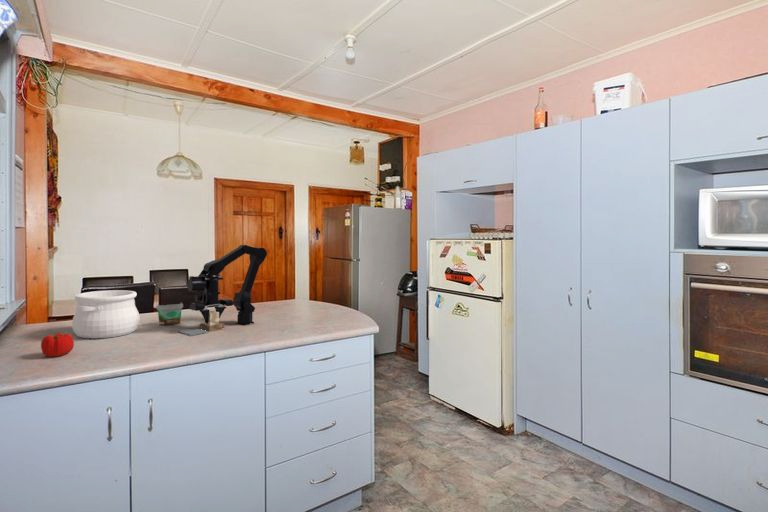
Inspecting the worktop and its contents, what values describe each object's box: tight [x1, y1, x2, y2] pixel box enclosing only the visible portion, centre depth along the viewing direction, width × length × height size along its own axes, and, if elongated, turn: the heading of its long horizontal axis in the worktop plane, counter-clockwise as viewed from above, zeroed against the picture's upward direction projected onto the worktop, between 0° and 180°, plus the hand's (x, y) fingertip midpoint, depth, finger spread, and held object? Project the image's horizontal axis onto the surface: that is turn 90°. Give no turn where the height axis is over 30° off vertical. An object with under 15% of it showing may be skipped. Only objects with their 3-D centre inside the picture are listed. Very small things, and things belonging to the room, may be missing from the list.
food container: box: [155, 301, 184, 327], centre depth 195 cm, size 12×6×10 cm, turn 143°
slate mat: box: [178, 327, 209, 337], centre depth 181 cm, size 8×10×1 cm
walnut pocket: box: [198, 321, 225, 332], centre depth 188 cm, size 8×8×2 cm
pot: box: [71, 289, 141, 340], centre depth 176 cm, size 26×24×18 cm
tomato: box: [40, 332, 75, 358], centre depth 145 cm, size 9×9×8 cm
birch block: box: [204, 310, 220, 326], centre depth 188 cm, size 4×4×8 cm
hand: (211, 322), depth 188 cm, fingers open, 5 cm apart
